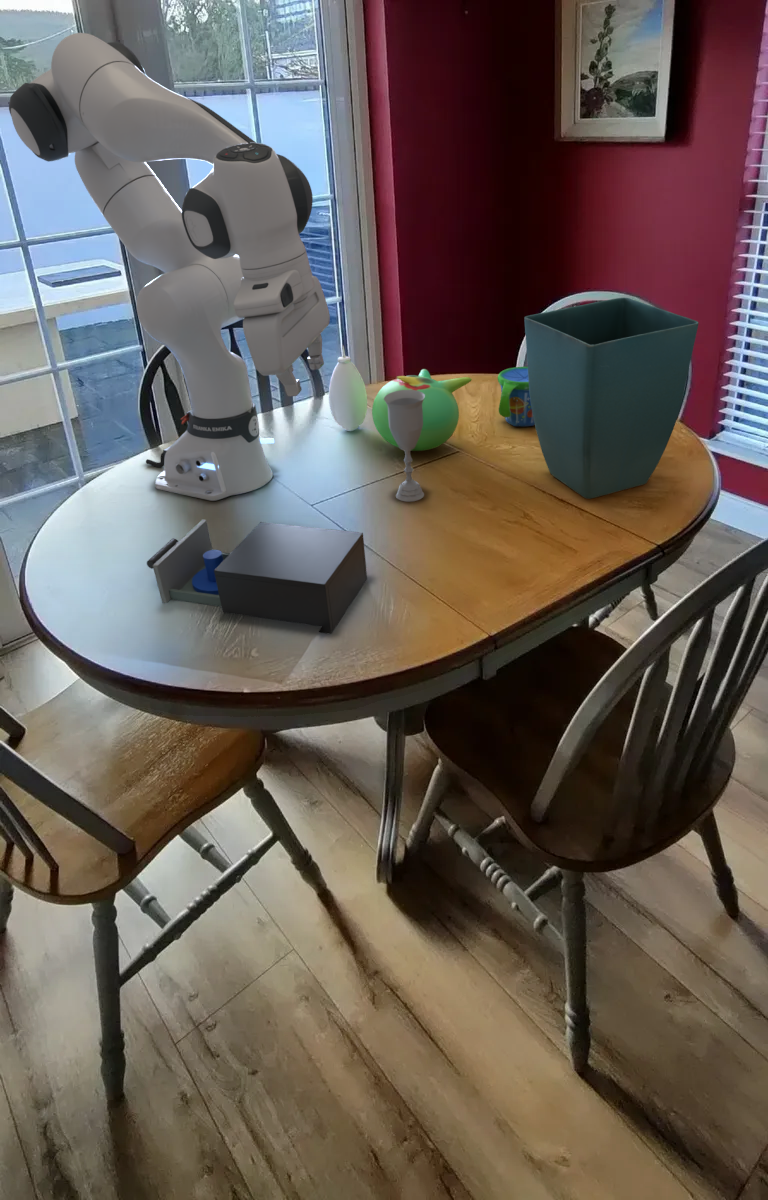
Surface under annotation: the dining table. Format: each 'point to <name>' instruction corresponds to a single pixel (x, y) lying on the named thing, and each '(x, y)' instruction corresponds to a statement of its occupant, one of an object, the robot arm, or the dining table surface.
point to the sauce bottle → (347, 394)
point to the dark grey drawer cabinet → (293, 574)
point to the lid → (208, 573)
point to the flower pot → (606, 390)
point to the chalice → (406, 434)
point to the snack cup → (515, 397)
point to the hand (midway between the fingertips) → (306, 380)
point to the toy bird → (423, 408)
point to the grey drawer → (183, 566)
